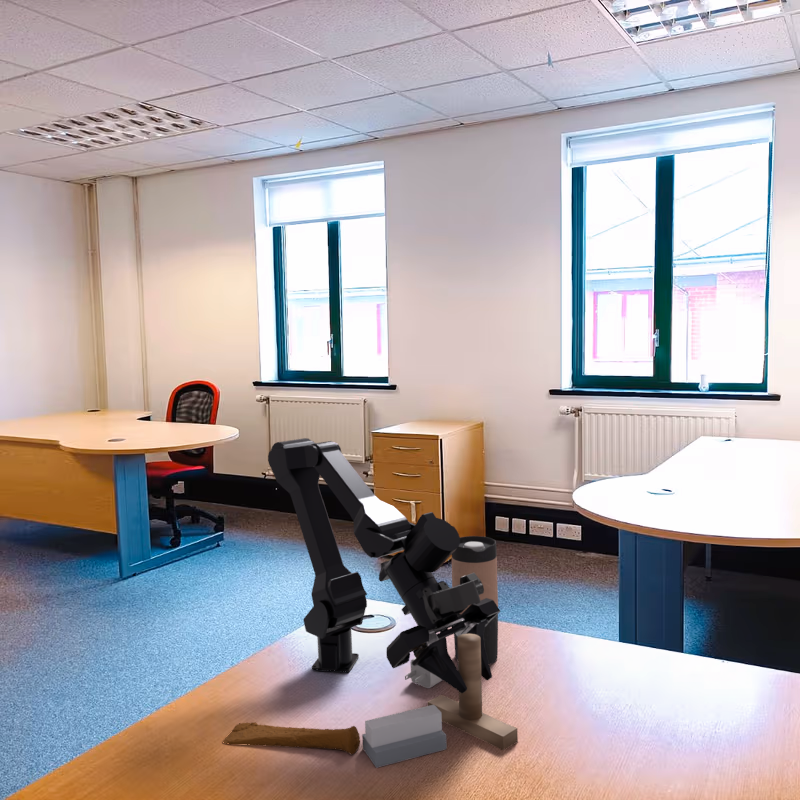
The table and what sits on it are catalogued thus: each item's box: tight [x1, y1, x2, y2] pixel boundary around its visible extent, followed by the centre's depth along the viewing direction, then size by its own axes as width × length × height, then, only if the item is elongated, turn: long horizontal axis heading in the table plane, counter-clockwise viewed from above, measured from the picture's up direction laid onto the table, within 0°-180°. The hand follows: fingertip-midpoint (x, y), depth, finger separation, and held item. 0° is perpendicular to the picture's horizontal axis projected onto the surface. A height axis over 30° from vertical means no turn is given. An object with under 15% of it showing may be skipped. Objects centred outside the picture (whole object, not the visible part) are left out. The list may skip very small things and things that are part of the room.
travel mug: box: [451, 535, 499, 666], centre depth 130 cm, size 8×8×20 cm
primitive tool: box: [222, 721, 361, 755], centre depth 106 cm, size 19×6×4 cm, turn 77°
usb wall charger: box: [404, 657, 443, 689], centre depth 122 cm, size 4×7×4 cm, turn 140°
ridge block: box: [361, 705, 448, 768], centre depth 103 cm, size 10×5×4 cm, turn 113°
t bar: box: [427, 634, 519, 751], centre depth 108 cm, size 14×3×13 cm, turn 43°
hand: (477, 685), depth 107 cm, fingers open, 5 cm apart
